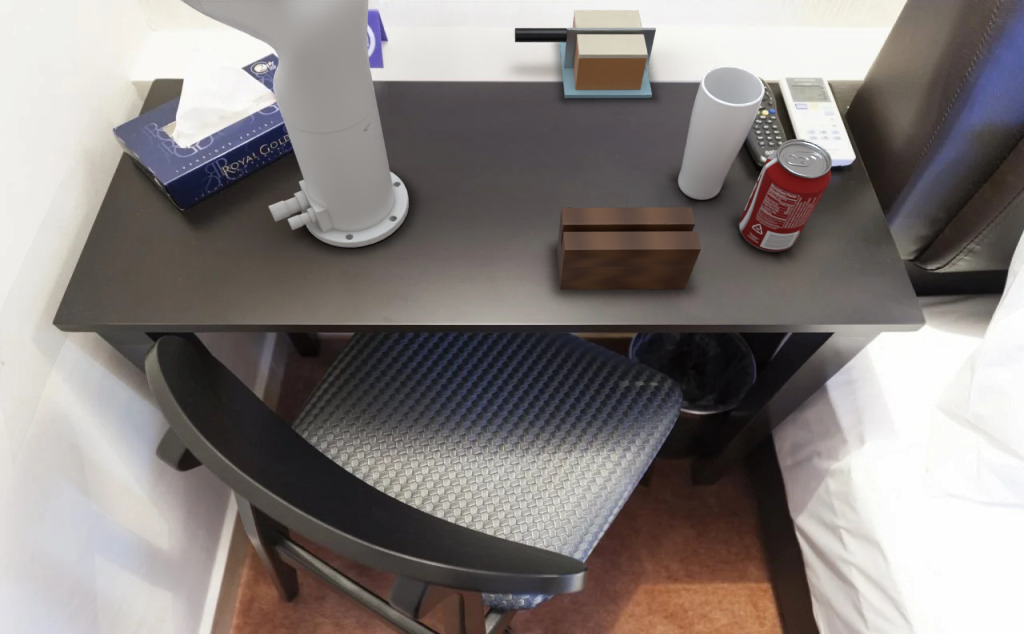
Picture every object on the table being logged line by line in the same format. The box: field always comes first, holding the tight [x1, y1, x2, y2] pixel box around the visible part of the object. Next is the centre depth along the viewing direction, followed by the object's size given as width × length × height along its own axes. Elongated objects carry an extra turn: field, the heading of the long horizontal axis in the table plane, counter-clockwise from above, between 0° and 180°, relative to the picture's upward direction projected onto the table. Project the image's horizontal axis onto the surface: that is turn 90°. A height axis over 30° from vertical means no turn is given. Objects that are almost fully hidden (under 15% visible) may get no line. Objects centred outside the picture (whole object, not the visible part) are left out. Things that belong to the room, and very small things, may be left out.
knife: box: [514, 27, 657, 69], centre depth 92 cm, size 19×2×6 cm, turn 91°
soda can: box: [738, 138, 833, 253], centre depth 73 cm, size 7×7×12 cm
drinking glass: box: [677, 65, 766, 201], centre depth 76 cm, size 7×7×15 cm
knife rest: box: [556, 206, 702, 291], centre depth 72 cm, size 14×6×7 cm, turn 91°
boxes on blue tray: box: [559, 9, 653, 99], centre depth 92 cm, size 12×12×6 cm
